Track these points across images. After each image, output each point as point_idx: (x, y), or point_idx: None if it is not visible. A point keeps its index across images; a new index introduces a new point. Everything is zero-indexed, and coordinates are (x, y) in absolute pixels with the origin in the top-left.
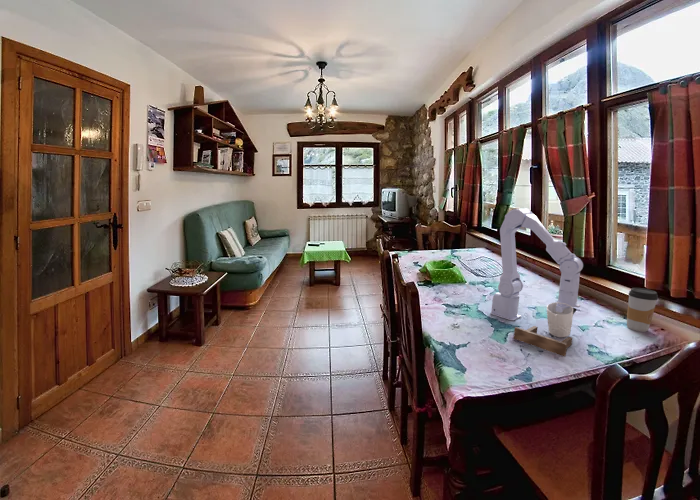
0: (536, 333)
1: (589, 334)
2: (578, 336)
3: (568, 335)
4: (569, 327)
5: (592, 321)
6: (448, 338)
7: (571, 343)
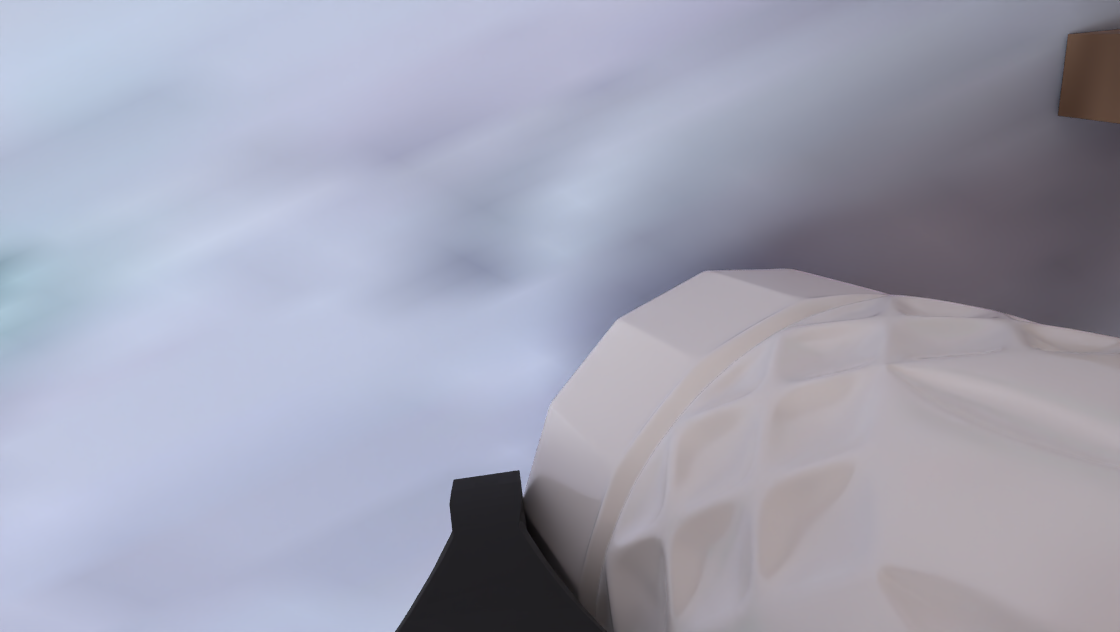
0: None
1: (32, 84)
2: (441, 174)
3: (758, 269)
4: (955, 321)
5: None
6: None
7: (1111, 32)
